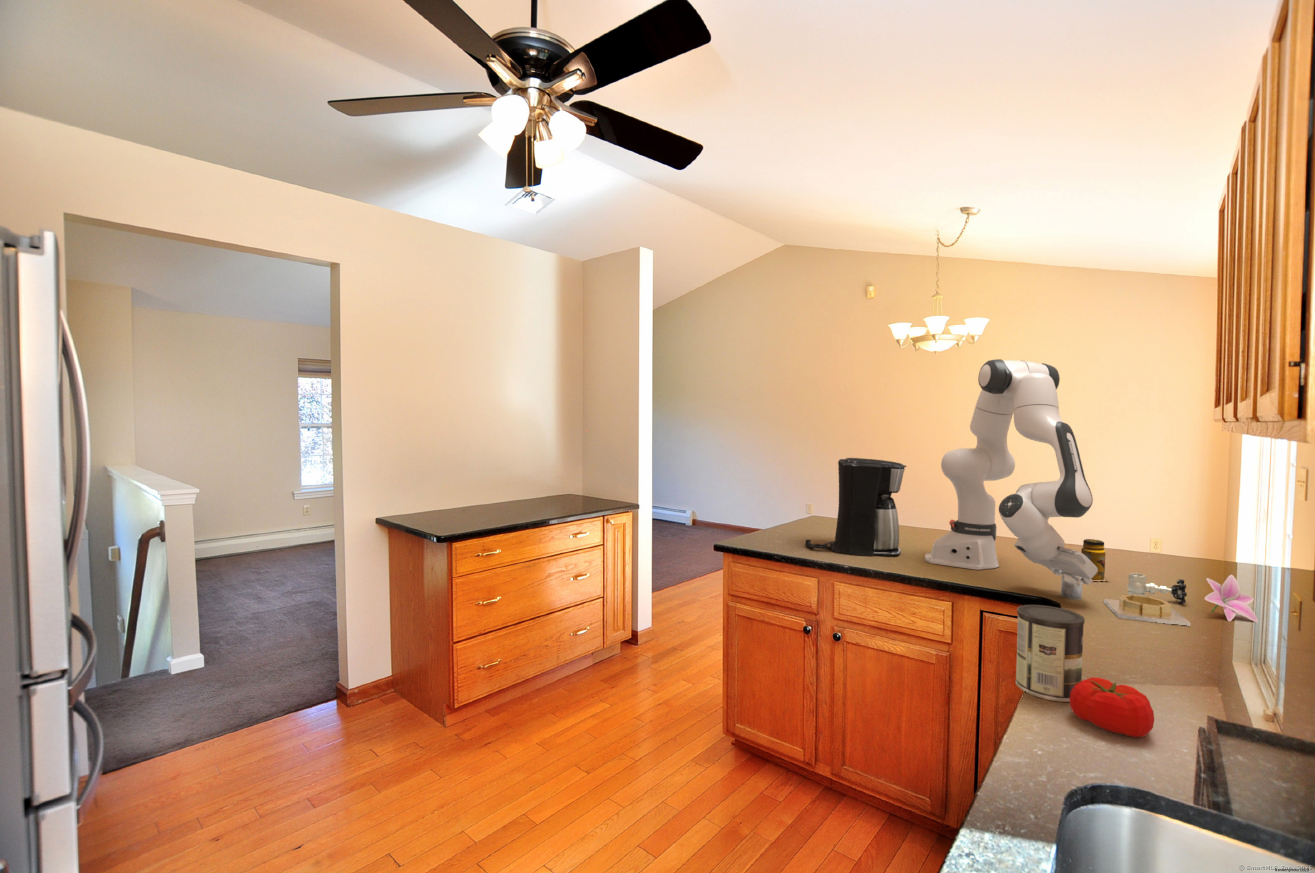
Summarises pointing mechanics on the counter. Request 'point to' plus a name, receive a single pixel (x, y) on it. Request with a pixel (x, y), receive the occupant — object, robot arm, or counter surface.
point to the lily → (1230, 599)
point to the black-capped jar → (1071, 586)
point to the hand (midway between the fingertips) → (1073, 577)
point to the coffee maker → (867, 508)
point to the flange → (1145, 609)
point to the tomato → (1112, 707)
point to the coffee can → (1049, 651)
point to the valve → (1154, 587)
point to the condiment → (1095, 556)
